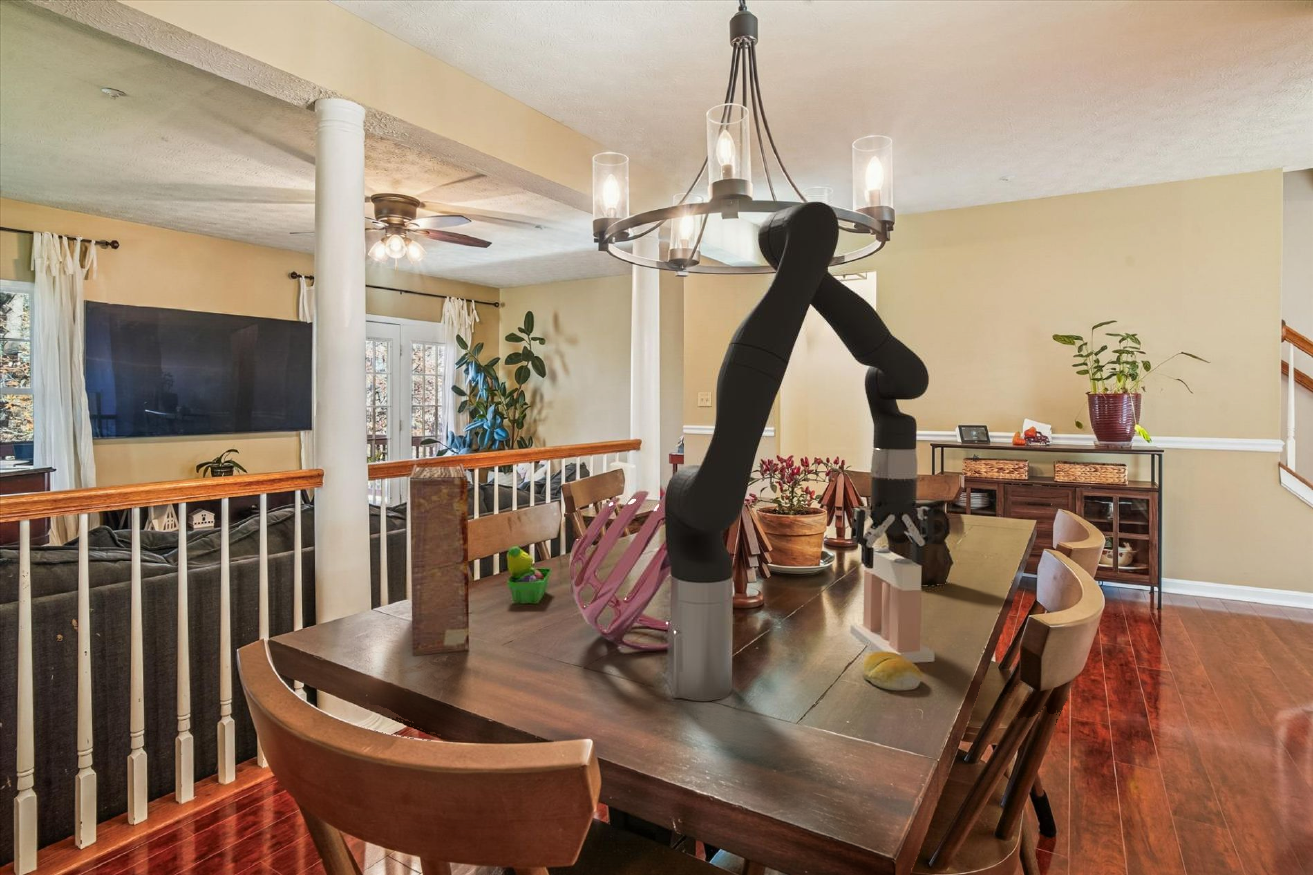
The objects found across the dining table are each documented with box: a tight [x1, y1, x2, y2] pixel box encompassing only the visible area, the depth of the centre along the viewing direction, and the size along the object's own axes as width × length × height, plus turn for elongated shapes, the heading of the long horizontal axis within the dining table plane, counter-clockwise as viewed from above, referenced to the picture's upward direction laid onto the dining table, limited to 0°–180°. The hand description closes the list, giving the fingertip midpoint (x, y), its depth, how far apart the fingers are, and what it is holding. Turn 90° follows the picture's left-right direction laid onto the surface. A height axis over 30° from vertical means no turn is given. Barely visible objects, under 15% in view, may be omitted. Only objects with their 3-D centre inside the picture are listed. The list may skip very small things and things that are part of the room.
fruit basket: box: [506, 546, 552, 605], centre depth 148 cm, size 11×9×11 cm
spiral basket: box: [568, 490, 671, 652], centre depth 122 cm, size 28×28×27 cm
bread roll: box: [861, 651, 923, 691], centre depth 106 cm, size 8×9×4 cm
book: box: [409, 463, 470, 656], centre depth 127 cm, size 25×9×30 cm, turn 18°
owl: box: [884, 499, 954, 587], centre depth 162 cm, size 13×13×20 cm
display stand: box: [849, 569, 935, 664], centre depth 120 cm, size 15×8×12 cm, turn 8°
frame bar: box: [864, 547, 922, 591], centre depth 119 cm, size 14×3×4 cm, turn 8°
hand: (891, 567), depth 119 cm, fingers open, 8 cm apart
